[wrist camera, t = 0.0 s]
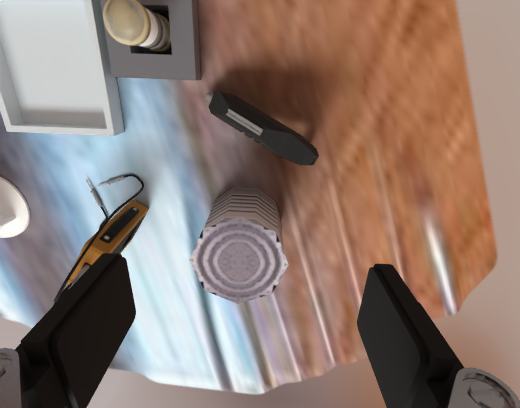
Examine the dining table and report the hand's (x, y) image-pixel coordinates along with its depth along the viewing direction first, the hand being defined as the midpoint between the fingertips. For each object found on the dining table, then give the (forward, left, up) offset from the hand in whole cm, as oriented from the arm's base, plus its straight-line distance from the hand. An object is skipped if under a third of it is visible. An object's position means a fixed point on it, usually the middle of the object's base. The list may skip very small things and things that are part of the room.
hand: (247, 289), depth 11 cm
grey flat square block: (-12, -13, -31) cm, 36 cm away
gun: (-2, 0, -32) cm, 32 cm away
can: (+13, -2, -32) cm, 34 cm away
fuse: (-12, -13, -31) cm, 36 cm away
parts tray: (-8, -26, -31) cm, 41 cm away
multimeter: (+12, -23, -32) cm, 41 cm away
